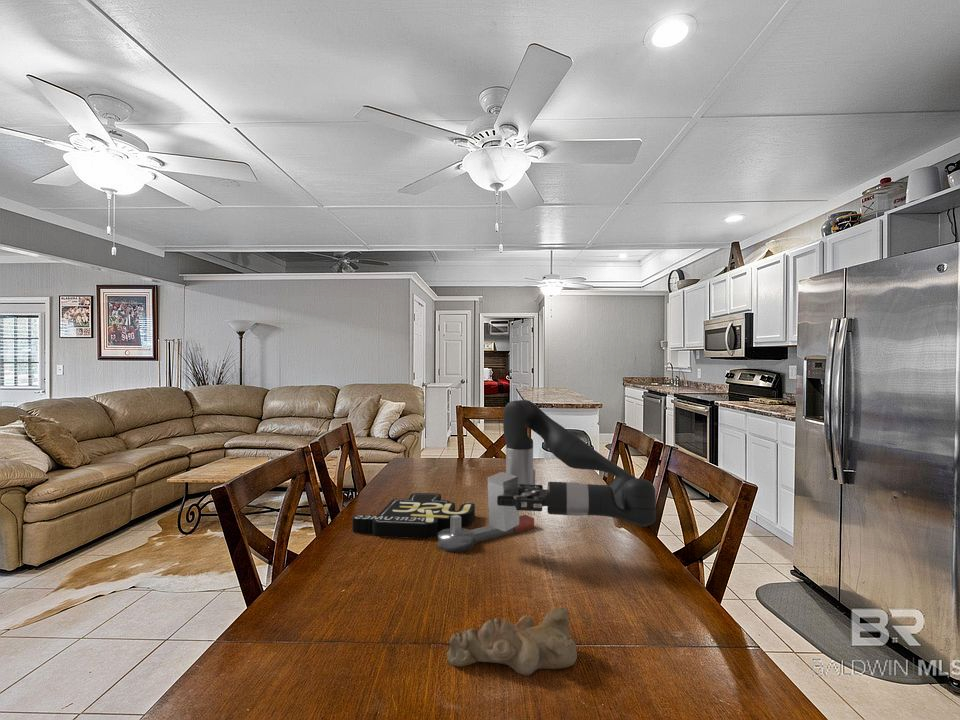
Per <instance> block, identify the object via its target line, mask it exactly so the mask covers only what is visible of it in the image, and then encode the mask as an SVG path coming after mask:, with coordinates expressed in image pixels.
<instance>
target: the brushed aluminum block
mask: <svg viewBox="0 0 960 720" xmlns="http://www.w3.org/2000/svg"><path fill="white" fill-rule="evenodd" d="M499 495H503V496H513V498H514V496H518V495H519V493H518V476H515V475H511V474H508V473H506V472H504V471H500V472H497V473H496V474H491V475H490V476H488V477H487V504H488V505H487V506H488V507H487V508H488V526H492V527H494V528H497V529H499V530H502V531H504V532H505V531H507V530H509V529H511V528H513V527H515V526H517V525H519V516H520V510H516V508H514V506H499V505H498V504H497V497H498V496H499Z"/></svg>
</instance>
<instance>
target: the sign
mask: <svg viewBox="0 0 960 720" xmlns="http://www.w3.org/2000/svg"><path fill="white" fill-rule="evenodd" d="M475 507H476V504H475V503H471V502H470V503H462V504H461V505H460V506H459V508H458V509H457V510H456V503H455V502H451V501H449V500H444V499H442V494H441V493H429V492H428V493H427V492H414V493H411V494H410V495H409V497H408V498H395V499H391V500H390V502H389V503H388V504H387V505H386V506H385V507H384V508H383V509H382V510H381V511H380V512H379V513H378V514H377V515H375V514H374V515H373V514H356V515H354V516H353V517H352V518H351V519H352V521H351V522H352V524H351V525H352V529H351V531H352V533H362V534H371V535H372V534H373V535H372V536H374V537H377V536H390V537H389V538H400V537H408V538H407V539H423V538H425V539H428V537H429V538H436V537H438V533H439V532H440V531H441V530H444V529H448V528H450V516H453V515H459V516H461V528H464V527H465V528H467V527H470V526H472V525H473V523H474V519H475V517H476V516H475V510H476V509H475ZM465 528H464V529H465Z"/></svg>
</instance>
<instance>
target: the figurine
mask: <svg viewBox="0 0 960 720" xmlns="http://www.w3.org/2000/svg"><path fill="white" fill-rule="evenodd" d="M518 619H519V620H518V621H517V622H516V623H515V624H513V623H512V622H510V620H508V619H507V617H501V618H500V617H495V618H494V619H489V620H487V621H486V622H484V623H483V624H482V626H481V627H480V629H477V628H473V627H472V628H469V629H468V630H467V629H466V630H464V631H463V632H457V633H453V635H451V637H450V639H449V649H448V651H447V652H446V655H445V656H446V657H447V658H446V659H447V663H448V664H449V665H451V666H454V667H460V668H462V667H467V666H469V665H472V664H475V663H476V662H480V663H491V664H502V665H506V666H509V667H510V668H511V669H512V670H514V671H515V673H518V674H519V675H523V676H531V675H533V674H534V672H535V671H537V670H545V669H546V670H561V669H566V668H569V667H571V666H573V665H574V664H575V662H576V660H577V659H578V652H577V644H576V642H575V641H574V640H573V639H572V637H571V634H570V630H569V624H570V617H569V611H568V610H567V608H565V607H558V608H556V607H555V608H554V609H552V610H549V611H548V612H547V613H546V614H545V616H544V618H543V620H542V623H541V624H540V625H537V626H535V622H534V618H533V617H532V616H530V615H523V616H521V617H520V618H518Z"/></svg>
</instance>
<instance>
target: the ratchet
mask: <svg viewBox="0 0 960 720" xmlns="http://www.w3.org/2000/svg"><path fill="white" fill-rule="evenodd" d="M534 528H535V517H532V516H529V515H526V514H524V515H519V525H517V526H515V527H513V528H511V529H509V530H507V531H505V532H504V531H502V530H499V529H497V528H494V527H492V526H489V525H485V526H482V527H478V528H477V527H476V528H474V529H467V528H461V516H459V515H453V516H450V528H448V529H444V530H441V531H440V532H438V534H437V547H438V549H440V550H441V551H445V552H449V553H450V552H451V553H460V552H465V551H470V550H471V549H473V547H474V544H475V543H479V542H480V543H481V542H482V541H487V540H491V539H495V538H498V537H503V536H506V535H510V534H513V533H514V534H516V533H519V532H523V531H527V530H530V529H534Z"/></svg>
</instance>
